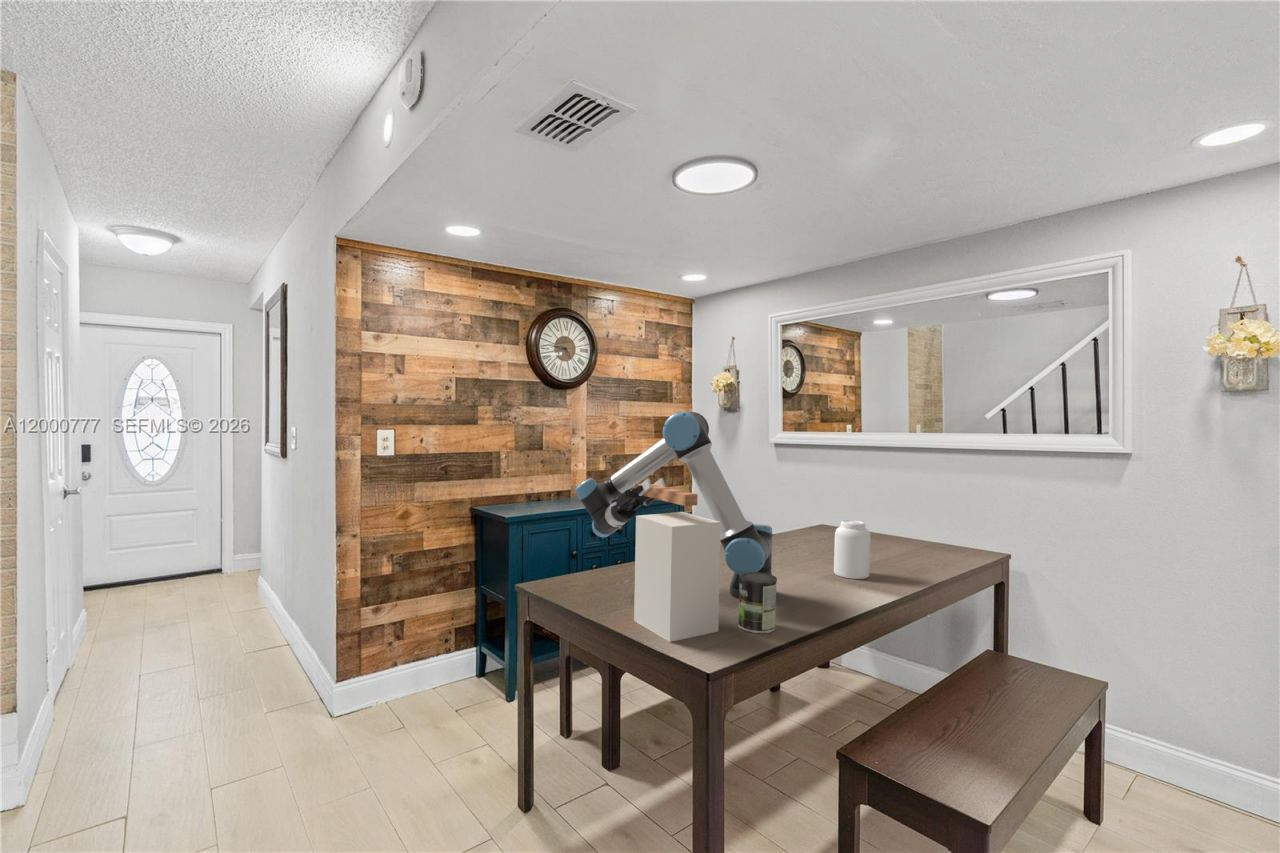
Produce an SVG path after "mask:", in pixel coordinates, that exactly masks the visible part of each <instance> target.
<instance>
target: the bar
mask: <svg viewBox="0 0 1280 853" xmlns="http://www.w3.org/2000/svg"><path fill="white" fill-rule="evenodd" d="M642 483H643V482H639V483H636V484H635V485H634V488H637V487H638V486H639V485H640V484H642ZM653 484H654V483H651V488H650V489H649V490H648V491H646V492H645V493H644V494H643V496H647V497H651V498H655V499H656V500H659V501H663V502H667V503H672V504H676V505H678V506H679V505H680V506H683V507H691V506H692V507H693V506H698V496H699V495H698V493H693V492H689V491H685V490H680V489H676V488H671V487H666V486H665V487H662V486H658V485H653Z"/></svg>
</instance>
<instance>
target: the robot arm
mask: <svg viewBox="0 0 1280 853" xmlns="http://www.w3.org/2000/svg"><path fill="white" fill-rule="evenodd" d="M709 426H710V425H709V422H708V420H707V419H706V418H705V417H704V415H702V414H701V413H699V412H695V411H678V412H677V413H676V412H675V413H673V414H671V415H670V416H669V417H668V418H667V419H666V420H665V422H664V424H663V427H662V438H661V439H660V440H659V441H658V442H656V443H655V444H653V445H652V446H650V447H648V449H646V450H645V451H644V452H641V453H640V455H638V456H637V457H635V458H634V459H633V460H630V462H629V463H627V464H626V465H624V466H622V468H620V469H619V470H617V471H616V472H615V473H614V474H612V475H611V476H609V477H607V478H606V479H605V480H604V481H602V482H599V483H598V482H596V480H595V479H594V478H588V479H586V480H584V481H583V482H581V483H580V484H578V485H577V486H576V487H575V490H574V491H575V493H576V495H577V497H578V499H579V500H580V502H581V503H582V505H583V506H584V507H585V509H586V511H587V512H588V514H589V516H590V518H591V519H592V522H591V528H592V531H593V533H594V534H595V535H596V536H597V537H600V538H607V537H609V536H611V535H613V534H614V533H615V532H616V531H618V530H619V529H620V528H622V526H624V525H625V524H626V523H627V522H629V521H631V520H632V519H633V518H634V517H636V513H637V510H638V509H640V508H642V506H646V507H648V508H649V507H650V506H651V504H653V503H654V502H655V501H656V500H657V499H655V498H651V497H647V496H643V494H644V493H645V492H646V491H648V490H649V489H650V488H651V484H653V485H658V486H662V487H666V485H665V480H664V478H663V477H660V478H659V479H658V480H657V481H655V482H654V483H651V480H650V478H647V477H648V476H650V475H651V474H653V473H654V472H656V471H657V470H658V469H660V468H661V467H663V466H665V465H666V464H667V463H668V462H670V461H671V460H673V459H674V458H676V457H677V459H678V461H680V462H683V463H685V464H686V466H687V468H688V470H689V472H690V474H691V476H692V478H693V481H695V484H696V486H697V488H698V490H699V492H700V494H701V495H702V498H703V500H704V502H705V504H706V506H707V508H708V510H709V511H710V514H711V516H712V518H713V520H716V521H719V522H721V540H720V545H721V546H722V548H723V550H724V561H725V563H726V565H727V567H728V568H729V569H730V571H732V572H733V575H732V578H731V581H730V584H729V594H730V595H731V596H733V597H734V598H738V599H739V592H740V591H739V590H740V579H739V576H740V575H741V574H743V573H748V572H759V573H766V574H770V575H773V574H772V565H773V564H772V562H773V559H772V558H773V557H772V553H773V536H774V534H773V528H772V526H770V525H768V524H761V523H760V524H759V523H754V522H752V521H749V520H747V519H746V517H745V516H744V514H743V512H742V510H741V508H740V506H739V504H738V501H737V500H736V498H735V496H734V494H733V492H732V491H731V489H730V487H729V485H728V483H727V481H726V479H725V477H724V475H723V473H722V471H721V470H720V467H719V466H718V463H717V462H716V459H715V457H714V456H713V453H712V451H711V449H712V445H713V443H712V441H711V438H710V437H709V434H710V433H709V432H710V427H709ZM643 480H644V481H643ZM641 481H642V482H641ZM636 483H642V484H640V485H639V486H638V487H637V488H635V484H636Z"/></svg>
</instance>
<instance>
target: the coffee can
mask: <svg viewBox="0 0 1280 853" xmlns="http://www.w3.org/2000/svg"><path fill="white" fill-rule="evenodd" d="M739 579H740V590H739V591H740V592H739V598H738V601H739V602H738V624H737V626H738V627H739V629H741V630H742V631H745V632H748V633H751V634H752V633H753V634H768V633H772V632H774V631H775V630H776V605H777V604H776V603H777V582H778V577H776V576H775V575H773V574H772V575H770V574H766V573H759V572H748V573H743V574H741V575H740V576H739Z"/></svg>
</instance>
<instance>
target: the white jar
mask: <svg viewBox="0 0 1280 853" xmlns="http://www.w3.org/2000/svg"><path fill="white" fill-rule="evenodd" d="M871 536H872V535H871V532H870V531H869V529H868V528H866V524H865V522H864V521H861V520H854V519H852V520H851V519H844V520H842V521H841V522H840V526H839V527H837V528H836V529H835V532H834V547H833V548H834V550H833V552H834V553H833V555H834V556H833V573H834V574H835V575H836V576H838V577H840V578H844V579H850V580H851V579H852V580H864V579H867V578H869V576H870V574H871V572H870V571H871V570H870V568H871V567H870V566H871V540H872V539H871V538H872V537H871Z"/></svg>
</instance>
